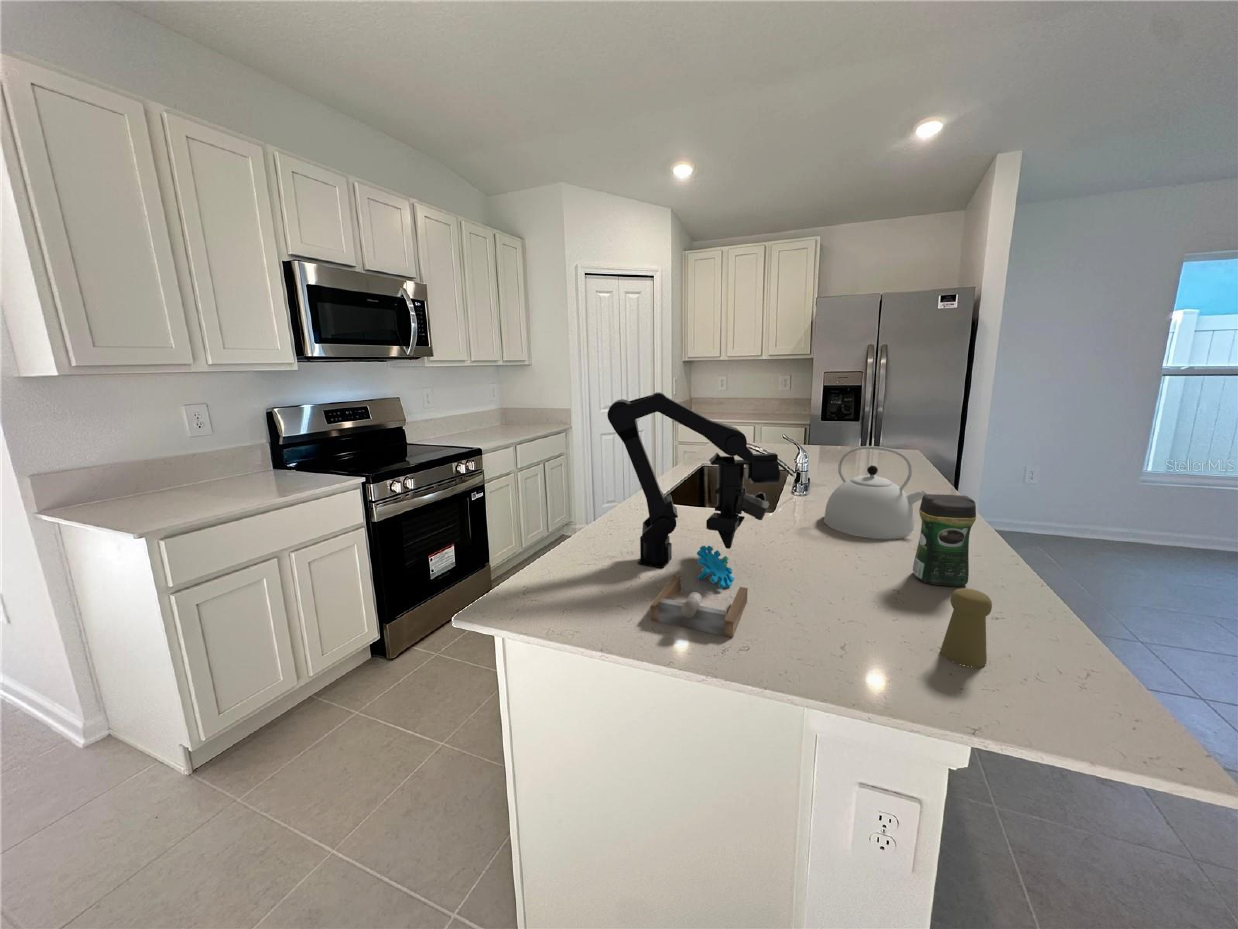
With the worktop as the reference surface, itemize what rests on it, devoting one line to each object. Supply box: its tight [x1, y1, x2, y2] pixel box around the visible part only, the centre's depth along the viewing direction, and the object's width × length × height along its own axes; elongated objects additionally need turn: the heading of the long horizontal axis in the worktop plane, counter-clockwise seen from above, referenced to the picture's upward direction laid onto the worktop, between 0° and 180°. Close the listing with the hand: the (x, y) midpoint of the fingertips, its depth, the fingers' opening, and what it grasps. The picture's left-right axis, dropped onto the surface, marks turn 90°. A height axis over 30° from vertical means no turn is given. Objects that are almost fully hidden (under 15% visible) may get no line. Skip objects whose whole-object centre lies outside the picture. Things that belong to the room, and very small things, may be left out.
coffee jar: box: [912, 493, 977, 587], centre depth 101 cm, size 10×8×19 cm
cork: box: [940, 587, 993, 668], centre depth 76 cm, size 6×6×11 cm
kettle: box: [823, 445, 928, 540], centre depth 134 cm, size 25×23×22 cm
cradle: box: [650, 574, 749, 638], centre depth 91 cm, size 15×15×6 cm
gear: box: [696, 545, 735, 589], centre depth 104 cm, size 11×6×10 cm
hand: (728, 548), depth 113 cm, fingers closed
